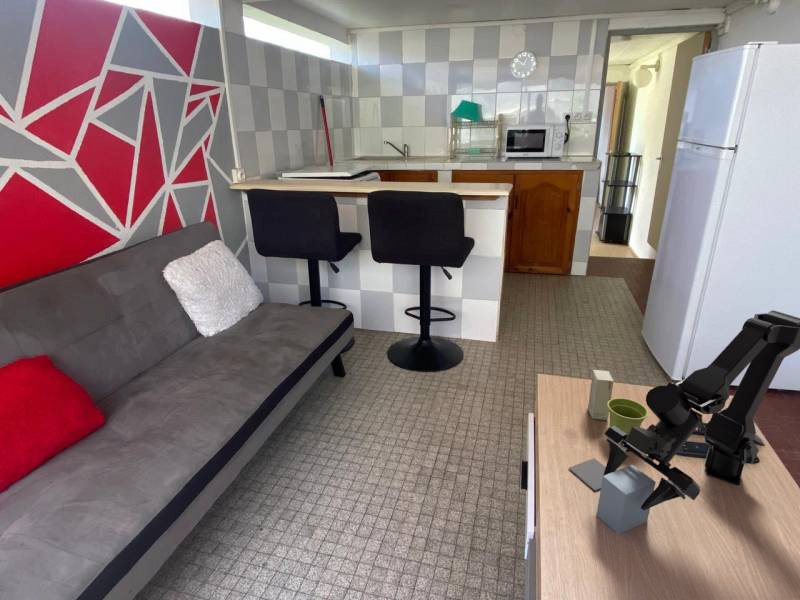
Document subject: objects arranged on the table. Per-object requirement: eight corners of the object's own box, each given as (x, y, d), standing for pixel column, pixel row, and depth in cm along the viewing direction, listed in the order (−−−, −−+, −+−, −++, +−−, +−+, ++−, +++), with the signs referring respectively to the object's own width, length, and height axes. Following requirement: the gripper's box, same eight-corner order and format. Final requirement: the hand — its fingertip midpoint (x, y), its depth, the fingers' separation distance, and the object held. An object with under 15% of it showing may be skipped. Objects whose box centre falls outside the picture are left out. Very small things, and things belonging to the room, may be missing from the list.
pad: (594, 459, 112) (594, 458, 112) (621, 480, 105) (621, 479, 105) (568, 468, 109) (568, 467, 109) (594, 491, 102) (594, 490, 102)
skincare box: (608, 421, 127) (614, 381, 123) (591, 419, 128) (597, 380, 124) (603, 408, 133) (609, 370, 129) (587, 406, 134) (592, 368, 130)
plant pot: (636, 427, 124) (641, 399, 121) (647, 449, 115) (653, 420, 112) (599, 424, 126) (603, 396, 123) (607, 446, 117) (612, 416, 114)
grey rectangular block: (624, 502, 99) (631, 464, 96) (647, 521, 94) (655, 482, 91) (596, 514, 96) (602, 475, 93) (618, 534, 91) (626, 494, 88)
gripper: (616, 391, 97) (569, 449, 96) (703, 443, 81) (647, 512, 80) (637, 414, 103) (593, 469, 102) (722, 467, 87) (670, 532, 86)
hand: (622, 493), depth 93 cm, fingers open, 9 cm apart
